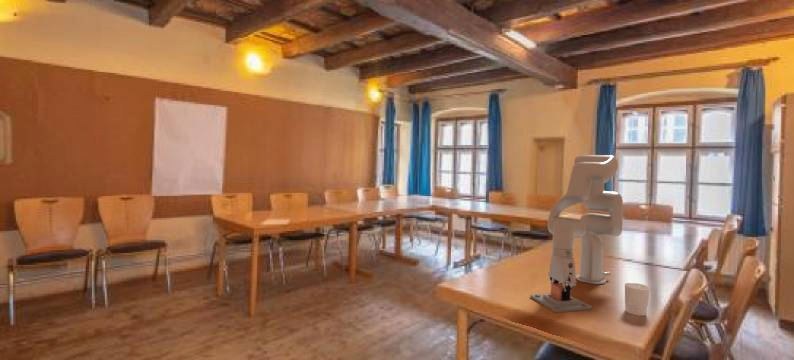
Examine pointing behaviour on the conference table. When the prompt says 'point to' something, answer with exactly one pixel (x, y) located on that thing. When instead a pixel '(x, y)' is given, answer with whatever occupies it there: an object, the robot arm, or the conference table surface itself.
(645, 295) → the white cup
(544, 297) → the baseplate
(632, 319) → the conference table surface
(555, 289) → the pink knobbed block
